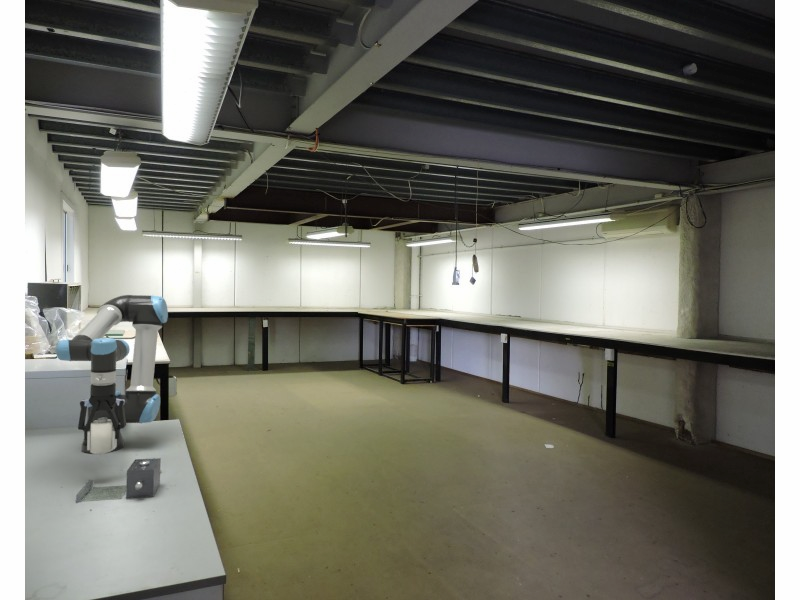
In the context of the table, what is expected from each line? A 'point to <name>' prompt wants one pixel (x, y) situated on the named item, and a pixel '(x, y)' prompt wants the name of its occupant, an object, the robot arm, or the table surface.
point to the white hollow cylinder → (101, 436)
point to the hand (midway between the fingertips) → (102, 448)
